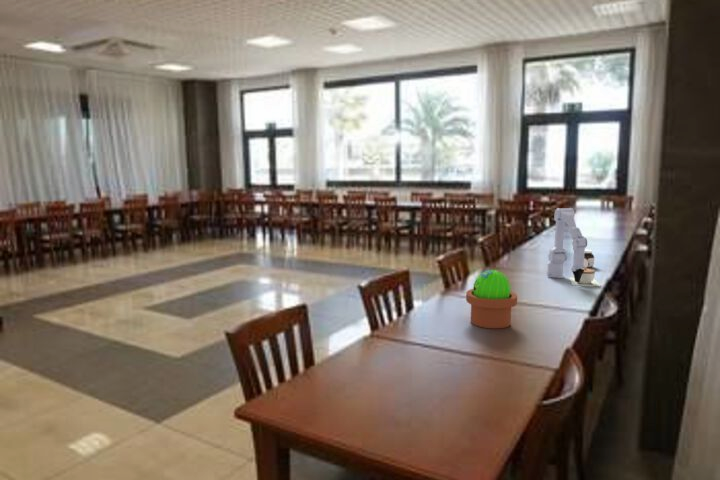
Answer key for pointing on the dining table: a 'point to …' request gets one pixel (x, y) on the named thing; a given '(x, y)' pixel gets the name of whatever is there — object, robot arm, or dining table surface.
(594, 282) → the placemat
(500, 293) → the potted cactus
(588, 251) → the spread jar
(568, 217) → the robot arm
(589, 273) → the lidded jar
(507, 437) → the dining table surface
